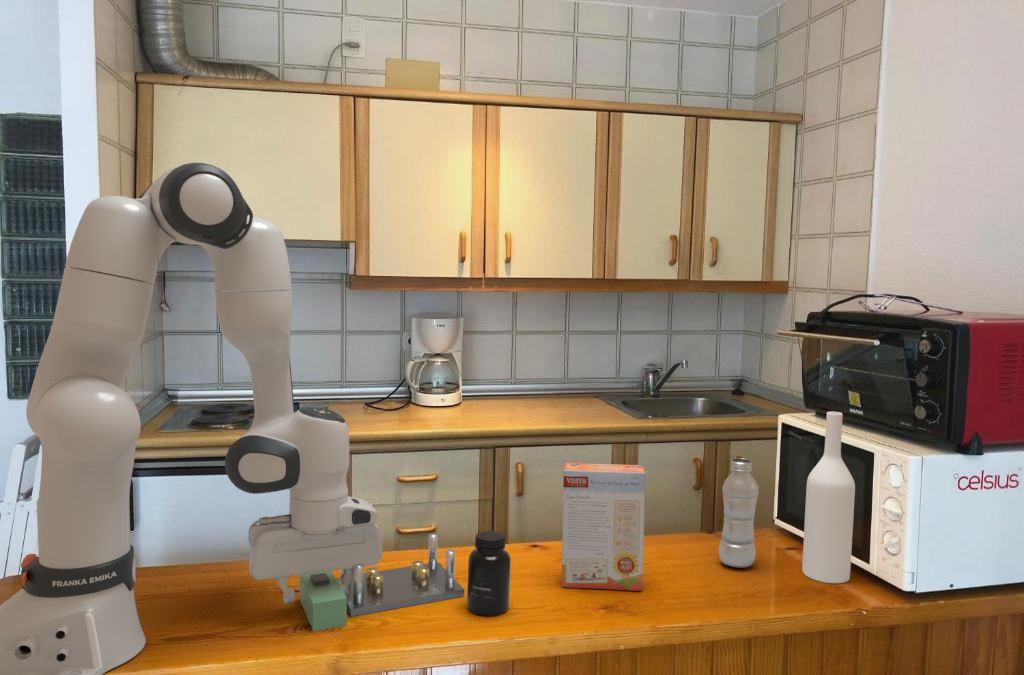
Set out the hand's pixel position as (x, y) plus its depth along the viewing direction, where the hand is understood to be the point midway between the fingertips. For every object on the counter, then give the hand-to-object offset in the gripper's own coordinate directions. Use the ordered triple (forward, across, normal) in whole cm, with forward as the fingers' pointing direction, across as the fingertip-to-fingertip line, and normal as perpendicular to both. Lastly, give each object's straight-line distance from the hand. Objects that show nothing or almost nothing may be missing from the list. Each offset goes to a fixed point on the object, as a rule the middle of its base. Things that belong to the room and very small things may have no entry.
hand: (315, 597), depth 119 cm
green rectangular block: (+2, +1, 0) cm, 3 cm away
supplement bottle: (+2, +25, -10) cm, 27 cm away
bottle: (0, +87, -24) cm, 90 cm away
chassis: (+2, +14, +2) cm, 15 cm away
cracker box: (+1, +47, -10) cm, 48 cm away
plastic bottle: (0, +75, -14) cm, 77 cm away
